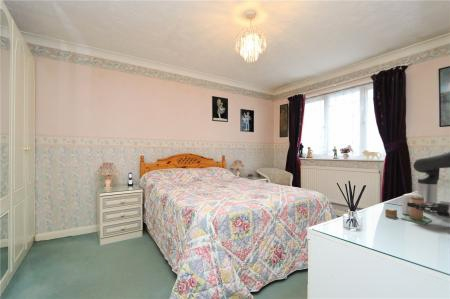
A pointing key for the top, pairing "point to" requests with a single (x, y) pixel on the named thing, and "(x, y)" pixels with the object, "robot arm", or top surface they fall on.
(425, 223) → the green mat
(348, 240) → the top surface
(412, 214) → the canister
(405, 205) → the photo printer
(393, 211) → the letter block
